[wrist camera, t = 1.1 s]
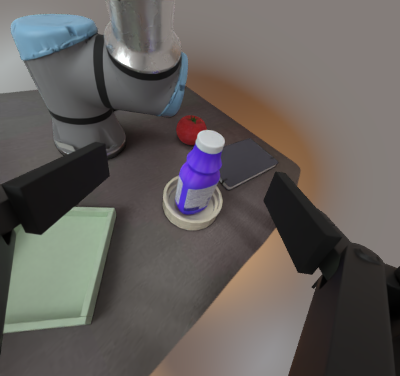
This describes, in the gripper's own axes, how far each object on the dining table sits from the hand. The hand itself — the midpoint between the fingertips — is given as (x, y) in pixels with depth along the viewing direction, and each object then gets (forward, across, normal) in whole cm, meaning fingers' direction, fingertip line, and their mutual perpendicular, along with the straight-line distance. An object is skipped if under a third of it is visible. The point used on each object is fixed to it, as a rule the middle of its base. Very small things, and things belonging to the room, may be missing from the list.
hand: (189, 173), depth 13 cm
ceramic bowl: (+18, 0, -16) cm, 25 cm away
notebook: (+36, +12, -11) cm, 39 cm away
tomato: (+40, -3, -9) cm, 41 cm away
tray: (+4, -19, -20) cm, 28 cm away
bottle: (+18, 0, -16) cm, 25 cm away
